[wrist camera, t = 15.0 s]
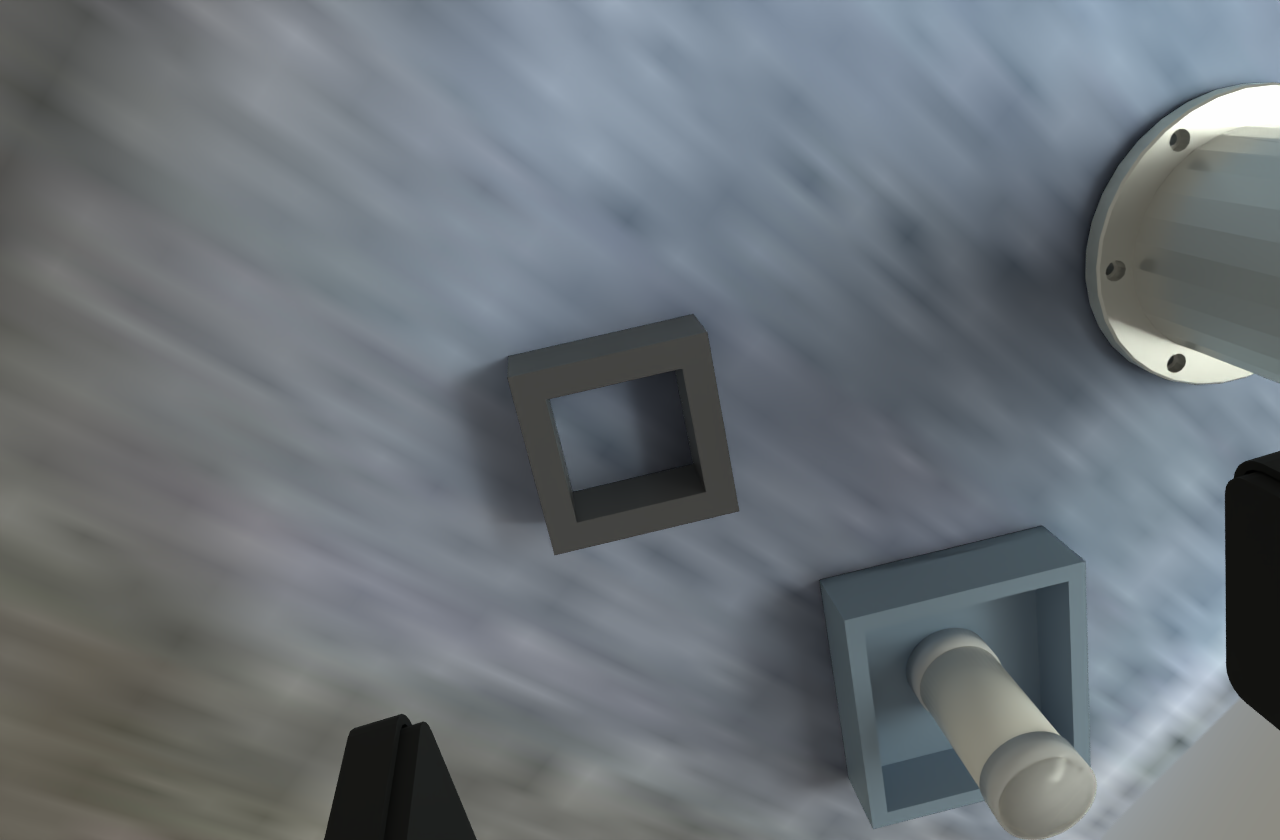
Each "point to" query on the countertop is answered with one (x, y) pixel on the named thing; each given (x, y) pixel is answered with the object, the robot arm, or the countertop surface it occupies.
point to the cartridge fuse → (1000, 736)
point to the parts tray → (932, 601)
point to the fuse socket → (641, 498)
